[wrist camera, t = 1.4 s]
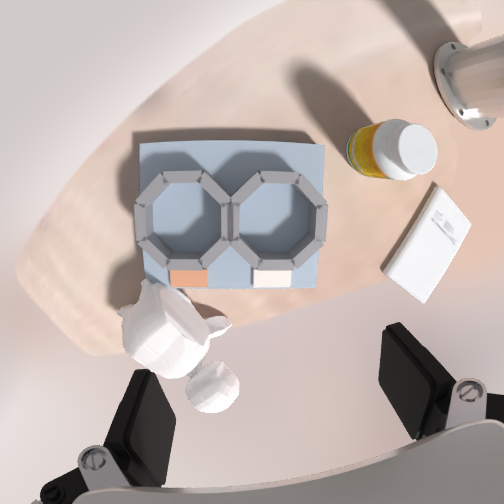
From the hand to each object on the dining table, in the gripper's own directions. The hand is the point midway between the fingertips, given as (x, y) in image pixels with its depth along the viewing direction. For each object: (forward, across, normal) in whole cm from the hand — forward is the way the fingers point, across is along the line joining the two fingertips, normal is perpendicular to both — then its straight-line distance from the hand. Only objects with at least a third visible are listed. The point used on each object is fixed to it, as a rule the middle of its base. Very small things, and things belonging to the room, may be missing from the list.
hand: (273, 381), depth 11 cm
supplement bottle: (+20, -14, -8) cm, 26 cm away
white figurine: (+20, +8, +8) cm, 23 cm away
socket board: (+20, +1, -4) cm, 20 cm away
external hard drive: (+21, -22, +4) cm, 30 cm away
